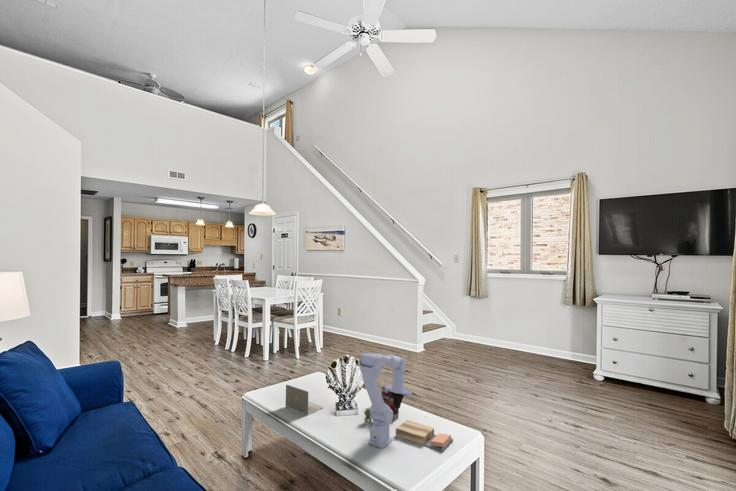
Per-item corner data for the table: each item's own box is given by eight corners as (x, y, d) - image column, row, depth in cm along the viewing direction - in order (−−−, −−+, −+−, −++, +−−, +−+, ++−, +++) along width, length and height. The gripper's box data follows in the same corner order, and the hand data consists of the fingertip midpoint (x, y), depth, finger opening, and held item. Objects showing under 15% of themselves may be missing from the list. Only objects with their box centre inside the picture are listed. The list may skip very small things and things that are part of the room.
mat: (442, 452, 164) (442, 449, 164) (424, 445, 170) (424, 443, 170) (452, 441, 174) (453, 438, 174) (434, 435, 179) (435, 432, 179)
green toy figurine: (366, 415, 201) (366, 401, 201) (384, 421, 193) (384, 407, 193) (351, 423, 191) (352, 408, 192) (369, 430, 184) (369, 415, 184)
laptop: (323, 408, 210) (323, 385, 210) (307, 416, 200) (308, 391, 200) (301, 400, 221) (301, 378, 221) (285, 407, 210) (285, 384, 211)
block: (431, 441, 169) (431, 445, 169) (443, 443, 166) (443, 447, 166) (439, 433, 177) (439, 437, 176) (450, 435, 173) (451, 439, 173)
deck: (423, 445, 170) (423, 437, 170) (395, 435, 179) (395, 428, 179) (433, 435, 179) (434, 428, 179) (406, 427, 188) (406, 420, 188)
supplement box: (380, 416, 200) (381, 386, 200) (386, 413, 203) (386, 384, 204) (393, 421, 194) (394, 390, 194) (399, 418, 198) (399, 388, 198)
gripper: (414, 381, 185) (414, 408, 185) (389, 375, 194) (389, 401, 193) (407, 385, 180) (407, 413, 179) (382, 379, 188) (382, 406, 188)
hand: (397, 407), depth 186 cm, fingers closed
